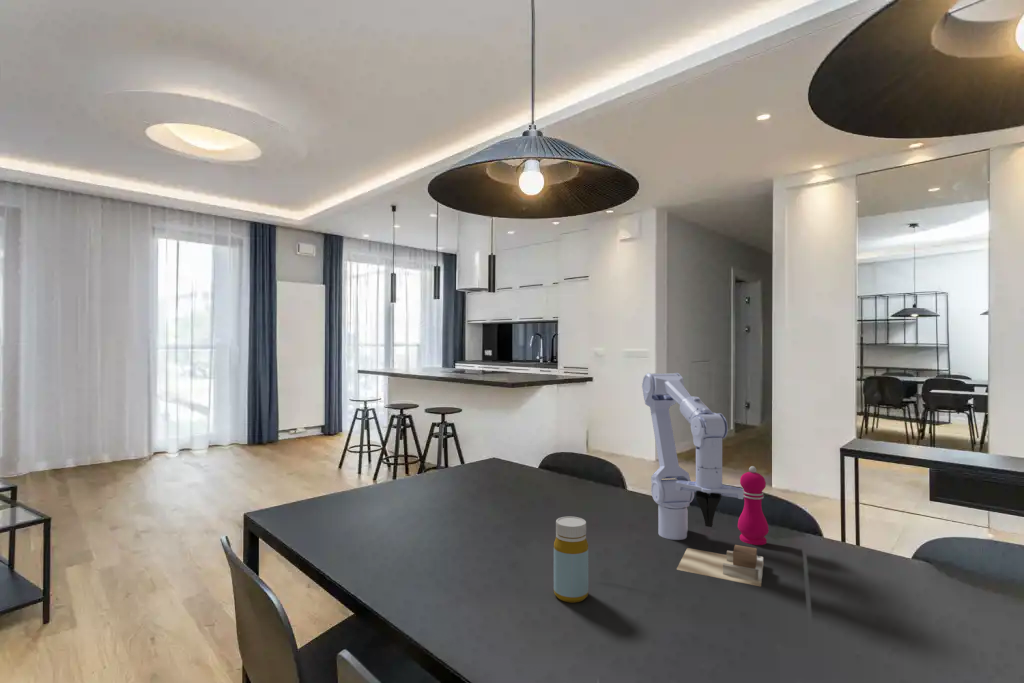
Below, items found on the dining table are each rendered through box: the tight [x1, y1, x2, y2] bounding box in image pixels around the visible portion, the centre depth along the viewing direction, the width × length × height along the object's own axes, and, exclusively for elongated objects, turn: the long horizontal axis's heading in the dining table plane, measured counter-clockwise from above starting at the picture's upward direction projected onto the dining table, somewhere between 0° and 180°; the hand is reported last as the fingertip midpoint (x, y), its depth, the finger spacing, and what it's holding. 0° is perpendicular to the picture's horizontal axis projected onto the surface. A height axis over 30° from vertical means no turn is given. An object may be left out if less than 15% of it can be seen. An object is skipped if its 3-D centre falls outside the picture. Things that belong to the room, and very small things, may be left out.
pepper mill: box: [737, 465, 770, 546], centre depth 132 cm, size 7×7×20 cm
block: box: [732, 544, 758, 569], centre depth 114 cm, size 4×4×4 cm
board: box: [676, 547, 765, 588], centre depth 116 cm, size 14×17×3 cm
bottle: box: [553, 516, 589, 603], centre depth 104 cm, size 7×7×15 cm
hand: (708, 525), depth 117 cm, fingers closed
